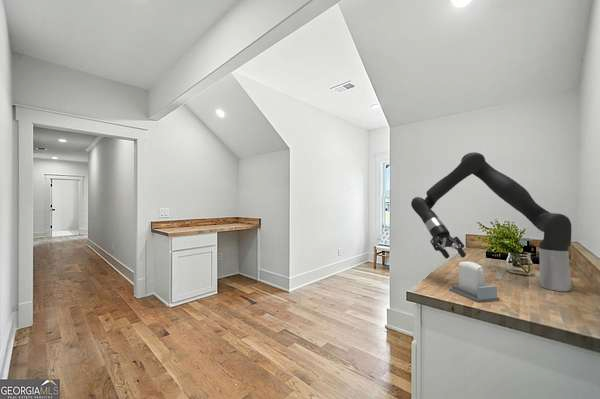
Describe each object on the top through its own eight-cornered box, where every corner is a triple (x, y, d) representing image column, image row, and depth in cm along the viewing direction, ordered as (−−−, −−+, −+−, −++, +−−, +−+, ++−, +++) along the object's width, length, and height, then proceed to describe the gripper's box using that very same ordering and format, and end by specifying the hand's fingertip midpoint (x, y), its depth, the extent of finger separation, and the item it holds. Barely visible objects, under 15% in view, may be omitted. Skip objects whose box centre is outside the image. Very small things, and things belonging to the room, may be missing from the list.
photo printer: (457, 288, 110) (456, 259, 110) (465, 287, 111) (465, 259, 111) (478, 296, 100) (477, 265, 100) (487, 295, 100) (486, 264, 101)
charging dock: (468, 288, 112) (468, 276, 112) (499, 300, 98) (498, 286, 98) (449, 290, 110) (449, 277, 110) (477, 302, 96) (477, 288, 96)
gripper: (427, 224, 120) (447, 253, 108) (453, 223, 123) (474, 251, 111) (420, 234, 125) (438, 262, 113) (445, 233, 128) (464, 260, 116)
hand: (456, 257), depth 112 cm, fingers open, 8 cm apart
